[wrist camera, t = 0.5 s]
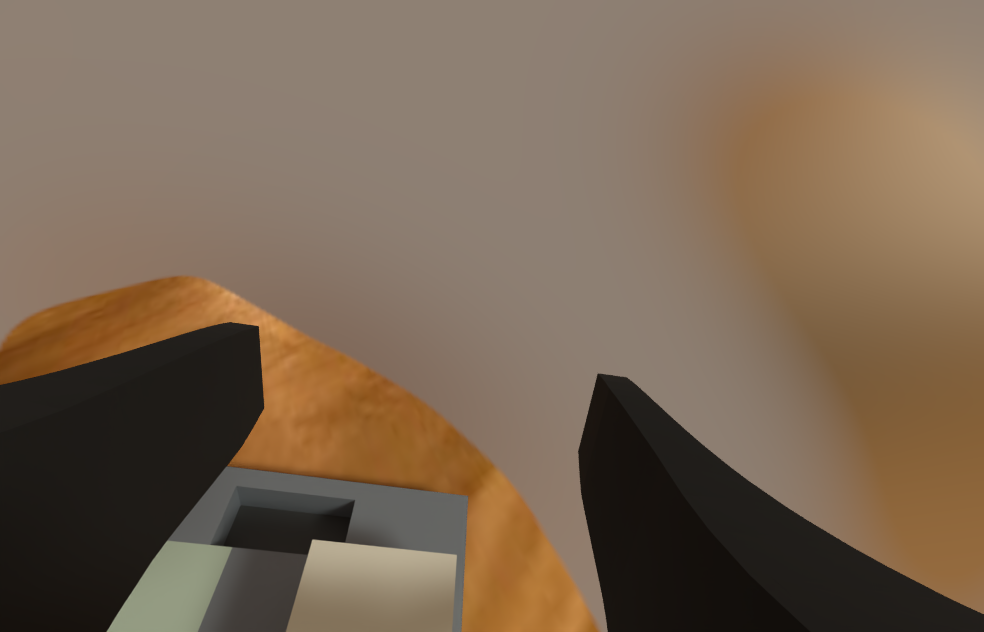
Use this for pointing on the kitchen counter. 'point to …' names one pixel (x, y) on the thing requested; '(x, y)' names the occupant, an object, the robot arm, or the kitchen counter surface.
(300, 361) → the kitchen counter surface
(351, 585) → the beech block
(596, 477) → the robot arm
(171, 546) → the board
